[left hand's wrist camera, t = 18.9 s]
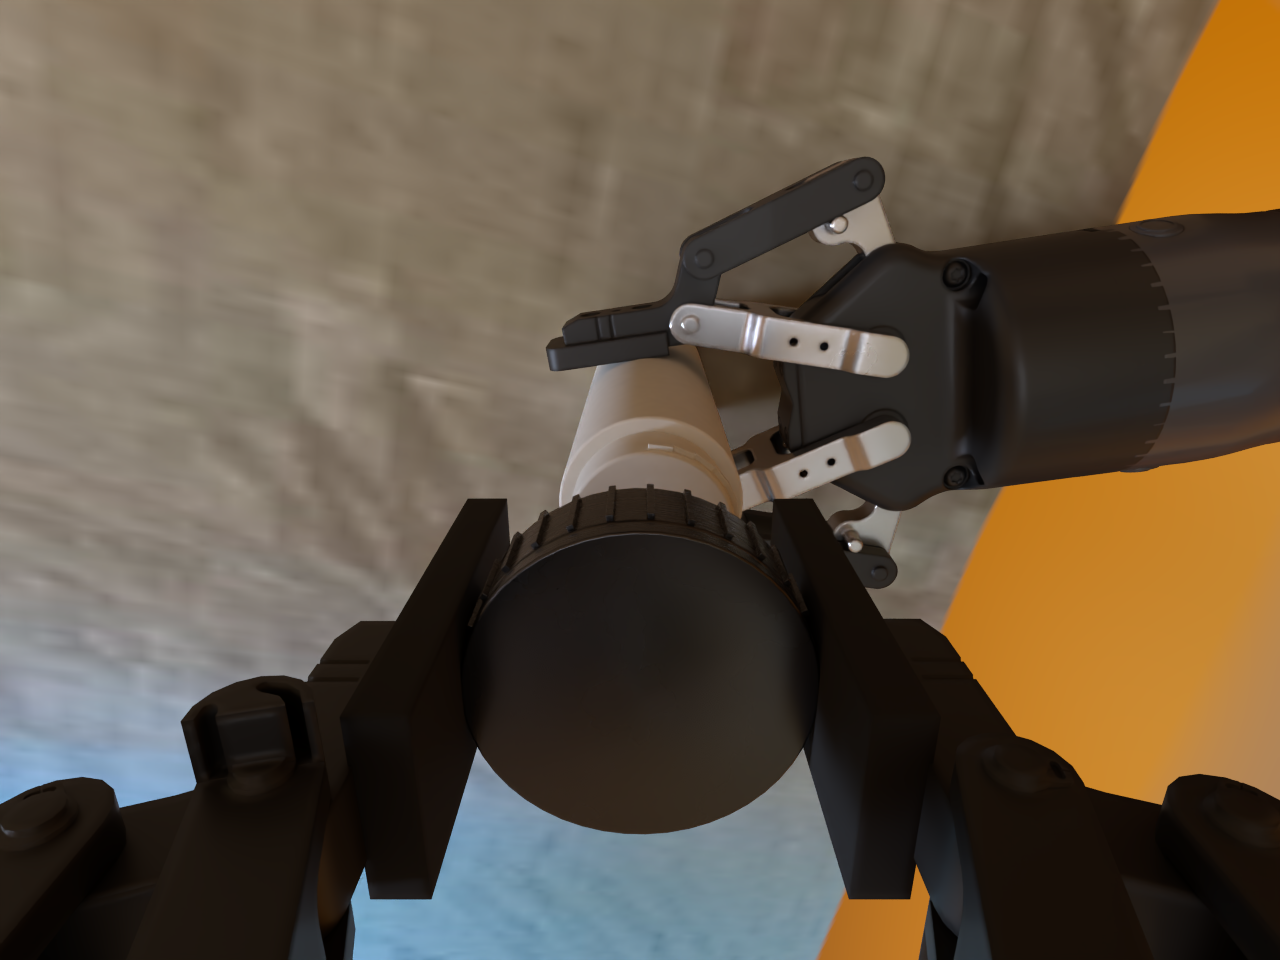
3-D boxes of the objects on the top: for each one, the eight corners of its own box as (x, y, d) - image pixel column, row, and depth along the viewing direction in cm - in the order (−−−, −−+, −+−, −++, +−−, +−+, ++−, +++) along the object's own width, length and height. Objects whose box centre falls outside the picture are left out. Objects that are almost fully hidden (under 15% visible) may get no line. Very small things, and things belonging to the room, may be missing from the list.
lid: (566, 421, 11) (554, 457, 9) (865, 572, 12) (900, 629, 10) (428, 688, 13) (398, 758, 11) (701, 804, 14) (709, 884, 12)
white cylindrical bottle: (694, 425, 31) (735, 627, 16) (594, 415, 31) (545, 610, 16) (707, 324, 30) (766, 447, 15) (602, 313, 30) (557, 425, 15)
